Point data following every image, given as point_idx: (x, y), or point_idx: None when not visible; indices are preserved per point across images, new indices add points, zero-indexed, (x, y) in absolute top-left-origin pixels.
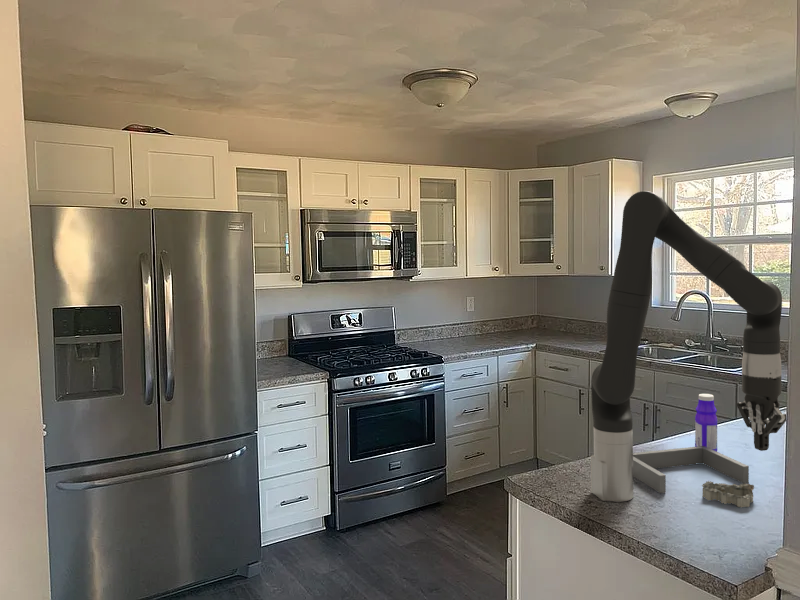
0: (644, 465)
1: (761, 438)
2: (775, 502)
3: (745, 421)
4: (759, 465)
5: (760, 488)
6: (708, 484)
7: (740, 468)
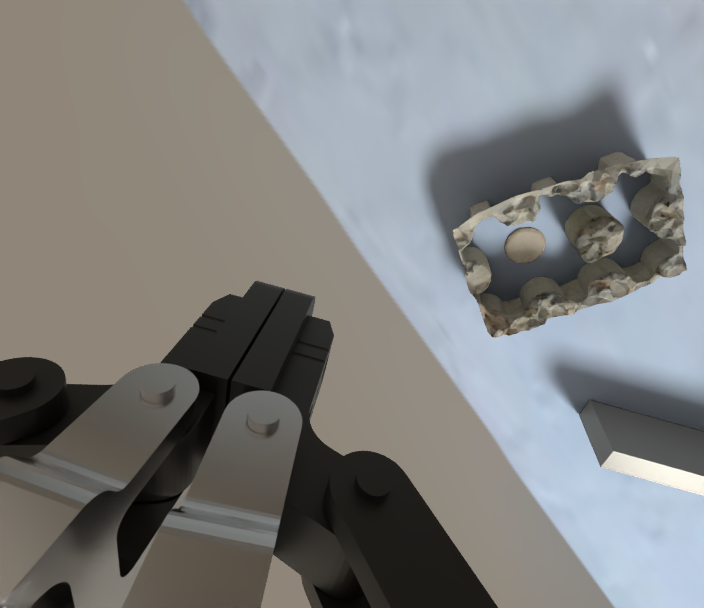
0: None
1: (200, 352)
2: (427, 339)
3: (424, 537)
4: (629, 547)
5: (526, 403)
6: (662, 225)
7: (625, 444)
